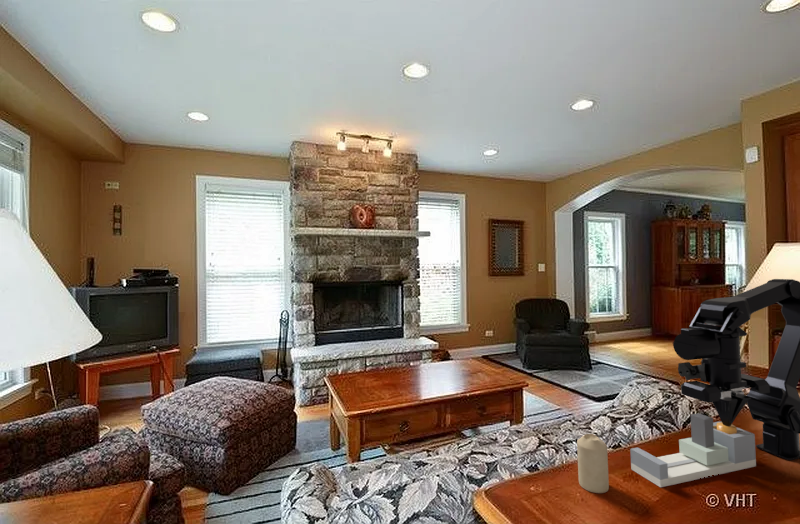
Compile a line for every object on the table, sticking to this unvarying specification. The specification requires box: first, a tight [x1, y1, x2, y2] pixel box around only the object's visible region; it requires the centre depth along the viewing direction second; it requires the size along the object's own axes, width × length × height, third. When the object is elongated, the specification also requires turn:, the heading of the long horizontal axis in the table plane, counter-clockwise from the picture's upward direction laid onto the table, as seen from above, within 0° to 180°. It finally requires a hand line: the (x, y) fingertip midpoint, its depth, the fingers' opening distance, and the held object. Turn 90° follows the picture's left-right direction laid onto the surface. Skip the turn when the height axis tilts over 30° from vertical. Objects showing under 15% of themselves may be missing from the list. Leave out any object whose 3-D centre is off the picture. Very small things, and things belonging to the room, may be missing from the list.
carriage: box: [678, 412, 729, 466], centre depth 82 cm, size 6×6×9 cm
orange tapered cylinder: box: [717, 421, 738, 434], centre depth 84 cm, size 3×3×6 cm
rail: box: [629, 420, 757, 488], centre depth 81 cm, size 26×7×7 cm, turn 104°
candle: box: [576, 433, 610, 494], centre depth 76 cm, size 6×6×10 cm
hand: (726, 425), depth 84 cm, fingers closed, pressing on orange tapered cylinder
